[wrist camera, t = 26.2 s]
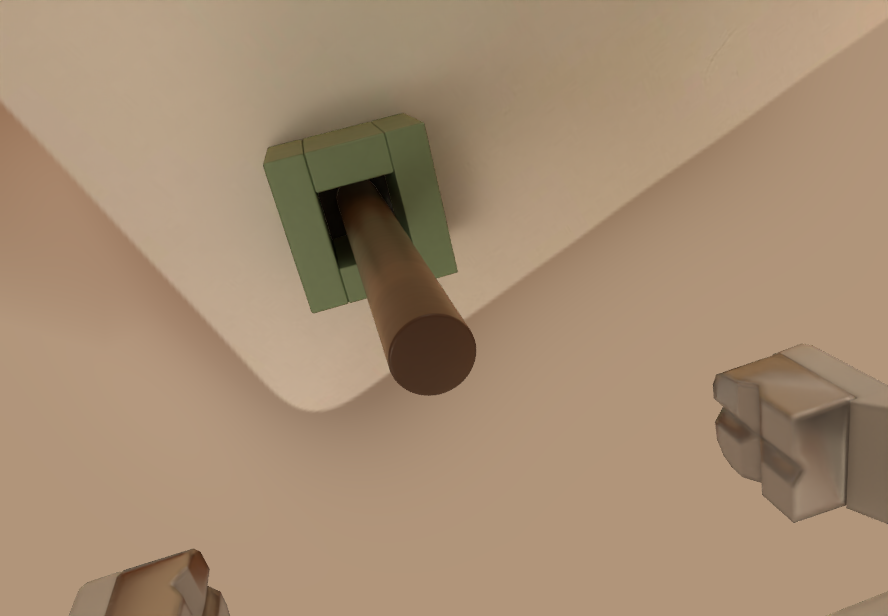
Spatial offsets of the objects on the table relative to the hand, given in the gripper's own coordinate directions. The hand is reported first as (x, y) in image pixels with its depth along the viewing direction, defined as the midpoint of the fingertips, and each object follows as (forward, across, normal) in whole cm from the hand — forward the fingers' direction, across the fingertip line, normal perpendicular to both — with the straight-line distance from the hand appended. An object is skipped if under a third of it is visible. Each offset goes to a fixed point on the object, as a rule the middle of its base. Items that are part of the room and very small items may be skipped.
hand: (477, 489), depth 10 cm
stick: (+23, -1, 0) cm, 23 cm away
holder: (+23, 0, 0) cm, 23 cm away
